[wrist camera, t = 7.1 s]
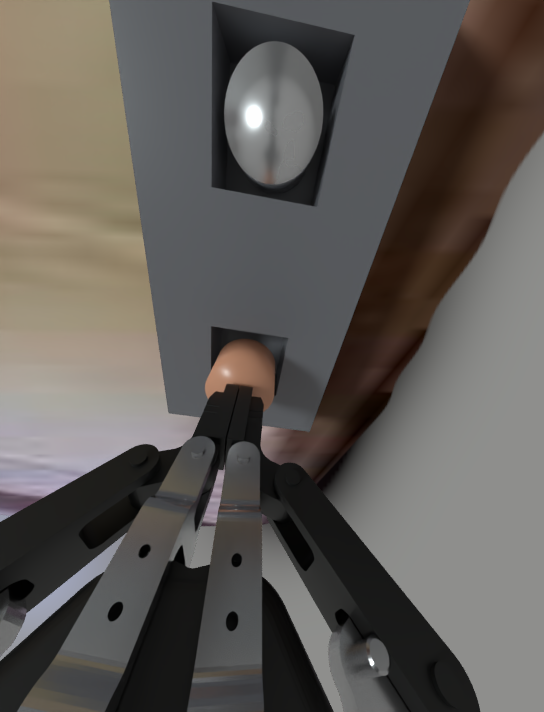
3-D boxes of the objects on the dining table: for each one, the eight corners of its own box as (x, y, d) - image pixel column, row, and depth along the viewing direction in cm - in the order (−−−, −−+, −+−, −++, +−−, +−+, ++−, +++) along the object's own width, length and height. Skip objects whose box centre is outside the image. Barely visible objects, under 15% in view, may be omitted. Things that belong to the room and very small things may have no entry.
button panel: (153, -75, 9) (69, -278, 5) (432, -6, 9) (524, -146, 6) (186, 383, 21) (168, 413, 17) (304, 399, 22) (309, 431, 18)
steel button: (239, 80, 10) (226, 28, 7) (322, 98, 10) (336, 54, 8) (234, 186, 12) (222, 175, 9) (303, 199, 12) (309, 191, 10)
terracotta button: (218, 334, 14) (204, 358, 11) (279, 343, 14) (279, 369, 11) (217, 382, 16) (205, 412, 13) (270, 390, 16) (268, 421, 13)
